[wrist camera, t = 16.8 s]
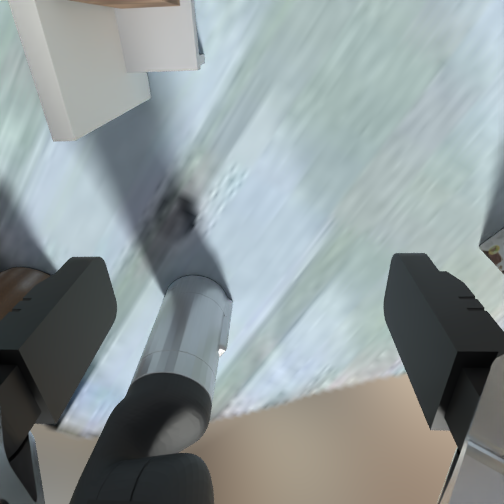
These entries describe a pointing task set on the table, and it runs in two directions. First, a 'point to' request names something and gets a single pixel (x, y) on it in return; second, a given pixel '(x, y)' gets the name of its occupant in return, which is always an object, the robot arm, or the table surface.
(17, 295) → the plant pot
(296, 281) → the table surface
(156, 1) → the brown tall block
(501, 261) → the coffee box
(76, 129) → the wall shelf
